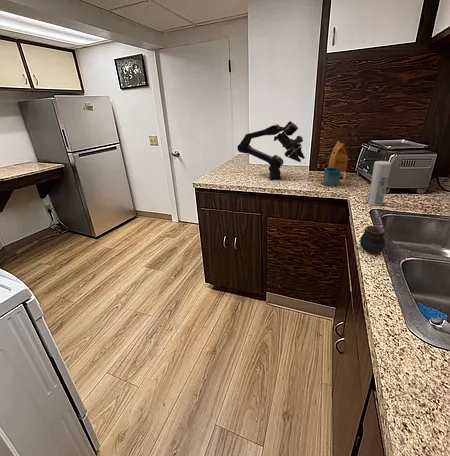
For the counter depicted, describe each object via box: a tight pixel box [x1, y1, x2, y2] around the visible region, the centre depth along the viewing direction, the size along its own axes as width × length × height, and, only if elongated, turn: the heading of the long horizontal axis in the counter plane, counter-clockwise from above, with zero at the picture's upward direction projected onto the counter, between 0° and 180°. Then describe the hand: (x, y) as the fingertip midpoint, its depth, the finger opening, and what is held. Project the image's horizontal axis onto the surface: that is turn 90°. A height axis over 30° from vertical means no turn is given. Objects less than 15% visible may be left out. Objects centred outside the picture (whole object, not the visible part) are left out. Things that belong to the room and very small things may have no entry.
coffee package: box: [328, 140, 349, 179], centre depth 158 cm, size 10×12×22 cm
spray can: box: [367, 160, 392, 207], centre depth 115 cm, size 6×6×20 cm
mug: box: [322, 167, 347, 187], centre depth 146 cm, size 9×8×12 cm
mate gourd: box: [359, 224, 386, 254], centre depth 82 cm, size 7×8×10 cm
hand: (302, 160), depth 151 cm, fingers open, 9 cm apart
